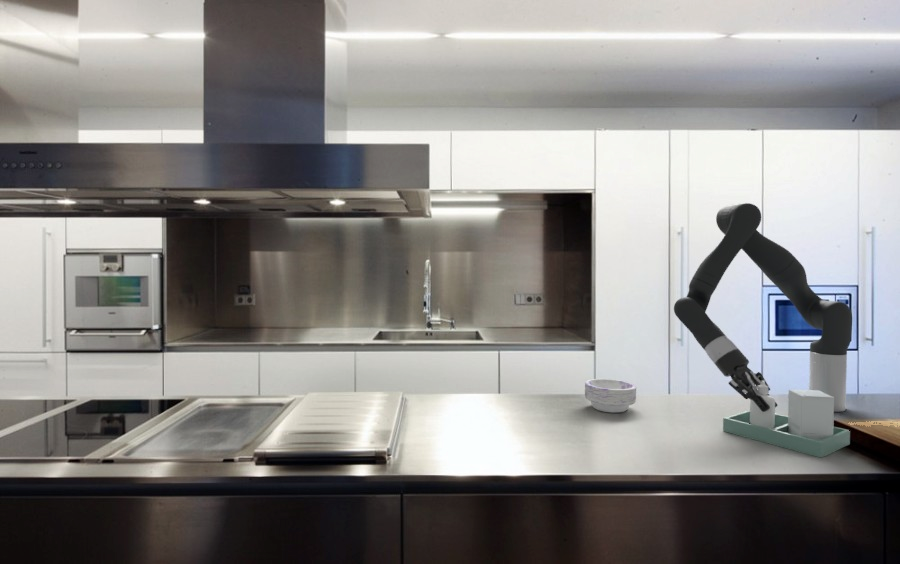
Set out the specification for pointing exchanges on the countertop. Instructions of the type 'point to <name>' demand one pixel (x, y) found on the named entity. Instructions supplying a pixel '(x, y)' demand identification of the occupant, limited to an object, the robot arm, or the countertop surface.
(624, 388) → the paper bowls
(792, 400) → the supplement box
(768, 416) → the eye dropper bottle
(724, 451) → the countertop surface
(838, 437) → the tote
